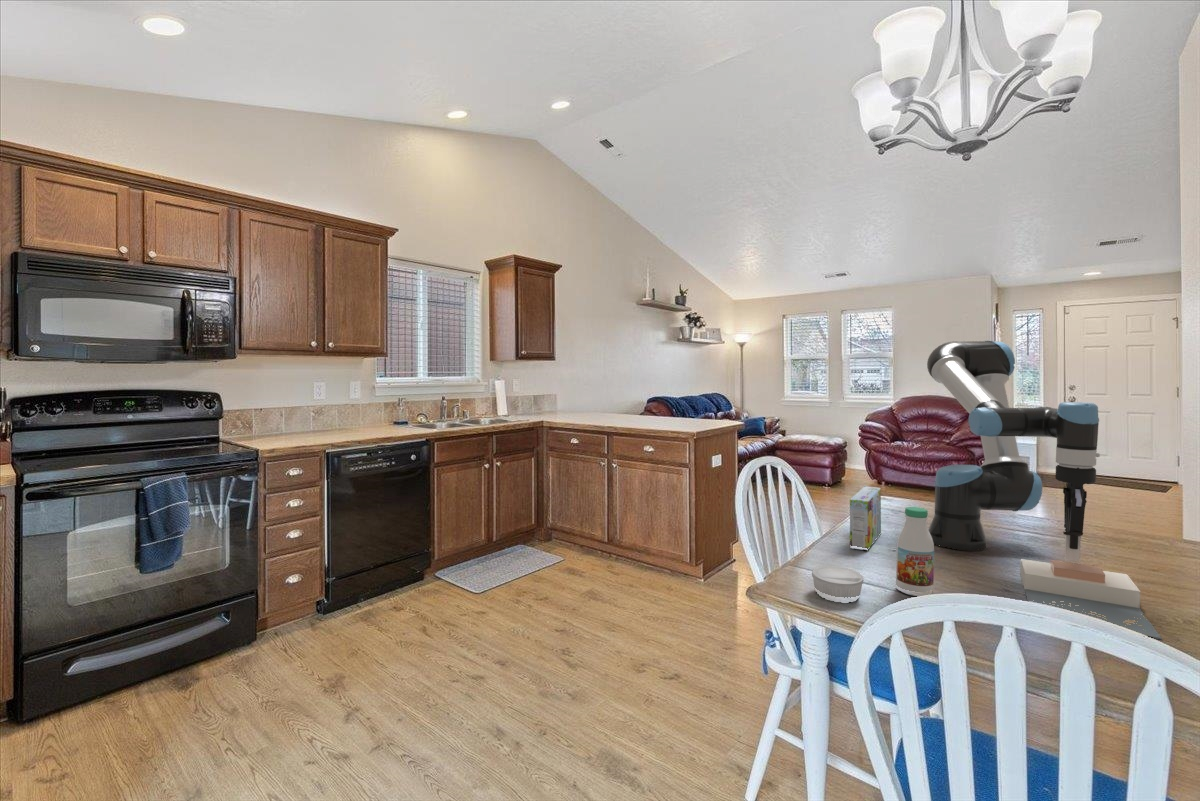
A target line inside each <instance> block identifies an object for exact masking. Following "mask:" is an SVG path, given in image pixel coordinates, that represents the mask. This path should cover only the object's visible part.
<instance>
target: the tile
mask: <svg viewBox="0 0 1200 801" xmlns="http://www.w3.org/2000/svg"><path fill="white" fill-rule="evenodd" d="M1050 563H1051V567H1050V568H1051V570H1052V572H1053V575H1054V576H1060V577H1067V578H1073V579H1080V580H1086V581H1093V582H1099V583H1105V574H1104V572H1103V571H1104V570H1103V569H1102V568H1101V566H1098V565H1096V566H1095V565H1090V564H1085V563H1079V562H1072V561H1065V560H1064V561H1063V560H1056V559H1055V560H1054V559H1050Z"/></svg>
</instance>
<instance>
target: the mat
mask: <svg viewBox="0 0 1200 801" xmlns="http://www.w3.org/2000/svg"><path fill="white" fill-rule="evenodd" d="M1025 592H1026V593H1025ZM1024 593H1025V597H1026V596H1027V597H1026V600H1027V602H1028V601H1033V600H1034V601H1033V602H1037V603H1042V604H1047V605H1052V604H1055V605H1052V606H1055V607H1059V608H1063V609H1067V610H1070V611H1074V612H1078V613H1082V614H1086V615H1089V616H1093V617H1096V618H1100V619H1102V620H1105V621H1107V622H1111V623H1113V624H1117V625H1119V626H1123V627H1126V628H1128V629H1131V630H1134V631H1136V632H1140V633H1142V634H1145V635H1147V636H1151V637H1153V638H1152V639H1155V640H1156V639H1157V640H1162V637H1161V635H1160V634H1159V633H1158V631H1157V630H1156V629H1155V627H1154V626H1153V624H1152V623H1151V621H1150V620H1149V619H1148V618H1147V617H1146V618H1147V620H1146V618H1144V617H1145V616H1146V615H1145V613H1144V612H1143V610H1142V609H1141V608H1136V607H1130V606H1124V605H1118V604H1112V603H1106V602H1100V601H1094V600H1088V599H1083V598H1077V597H1071V596H1065V595H1059V594H1053V593H1047V592H1041V591H1035V590H1029V589H1024ZM1043 601H1044V602H1045V603H1043ZM1052 601H1055V602H1056V603H1052ZM1060 601H1064V602H1060ZM1049 603H1051V604H1049ZM1069 603H1071V607H1070V606H1068V605H1070V604H1069ZM1061 604H1063V605H1061ZM1064 604H1065V605H1064ZM1057 605H1059V606H1057ZM1075 605H1079V606H1075ZM1062 606H1063V607H1062ZM1074 609H1075V610H1074ZM1083 609H1084V610H1083ZM1082 611H1083V612H1082ZM1090 611H1092V612H1096V613H1097V614H1095V613H1092V614H1095V615H1091V614H1088V613H1091V612H1090ZM1085 612H1086V613H1085ZM1098 614H1101V615H1098ZM1141 614H1142V615H1141ZM1143 614H1144V615H1145V616H1144V615H1143ZM1096 615H1098V616H1101V617H1097V616H1096ZM1102 615H1104V616H1106V617H1104V616H1102ZM1143 616H1144V617H1143ZM1102 617H1104V618H1106V619H1107V620H1106V619H1104V618H1102ZM1134 617H1135V618H1134ZM1137 618H1138V619H1137ZM1140 618H1141V619H1140ZM1128 619H1129V620H1135V621H1136V622H1134V623H1135V624H1133V623H1129V624H1131V625H1127V624H1126V623H1123V621H1125V620H1128ZM1137 621H1138V622H1137ZM1136 623H1137V624H1136ZM1125 625H1126V626H1125ZM1138 625H1142V626H1138ZM1143 629H1144V630H1143ZM1145 630H1146V631H1145Z"/></svg>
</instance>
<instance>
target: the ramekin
mask: <svg viewBox="0 0 1200 801" xmlns="http://www.w3.org/2000/svg"><path fill="white" fill-rule="evenodd" d="M811 577H812V579H813V580H812V582H813V586H814V587H815V588H816V589H817V590H819V591H820V592H822V593H825V594H828V595H831V596H835V597H844V598H845V597H847V598H848V597H850V598H851V597H856V596H859V595H860V596H861V594H862V593H861V592H862V588H863V584H864V580H865V579H864V576H863V575H862V574H861V573H860V572H858V571H856V570H854V569H851V568H848V567H845V566H844V567H843V566H838V565H837V566H836V565H820V566H817V567H815V568H813V569H812V571H811ZM814 587H813V588H814ZM815 588H814V589H815Z"/></svg>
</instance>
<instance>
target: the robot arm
mask: <svg viewBox="0 0 1200 801" xmlns="http://www.w3.org/2000/svg"><path fill="white" fill-rule="evenodd" d="M1015 364H1016V359H1015V355H1014V352H1013V350H1012V349H1011V347H1010V346H1009V345H1008V344H1007V343H1005V342H1002V341H996V340H994V341H993V340H983V341H982V340H979V341H977V340H976V341H974V340H973V341H948V342H944V343H942V344H940V345H938V346H937V347H936V348H934V349H933V350H932V352H931V353H930V354H929V356H928V359H927V363H926V365H927V366H926V367H927V372H928V373H929V375H930V376H931V378H932V379H933V380H934V381H936V382H937V384H942V385H943V386H944V387H945V388H946V389H947V391H949V393H950V395H952V396H953V397H954V398H955V399H956V400H957V401H958V403H959V404H960V405H961V406H962V407H963V408H964V410H965V411H967V413H968V414H969V415H968V426H969V430H970V431H971V433H972V434H974V435H976V436H980V440H981V445H982V451H983V455H984V456H983V457H984V462H983V463H982V464H981V465H980V466H979V465H975V464H951V465H945V466H942V467H940V468H938V469H937V470H936V472H935V480H934V515H933V518H932V519H931V522H930V525H929V527H928V530H929V533H930V535H931V537H932V540H933V543H934V545H935V544H937V545H936V546H938V545H940V546H939V547H941V546H944V547H943V548H945V547H948V548H947V549H950V548H952V549H951V550H956V549H957V551H958V550H959V551H967V552H968V551H970V552H973V551H975V552H976V551H978V552H979V551H983V550H985V549H987V546H988V540H987V537H986V533H985V530H984V527H983V525H982V521H981V511H982V510H983V511H984V510H985V511H1012V512H1019V511H1020V512H1021V511H1024V512H1026V511H1031V510H1033V509H1035V508H1036V507H1037V506H1038V504H1040V501H1041V498H1042V495H1043V483H1042V478H1041V477H1040V475H1038V473H1037V472H1035V471H1033V470H1029V465H1028V462H1026V461H1024V460H1023V459H1021V458H1020V452H1019V449H1018V444H1017V443H1018V442H1017V439H1016V437H1034V438H1035V437H1037V438H1038V437H1039V438H1040V437H1041V438H1044V437H1045V438H1047V437H1048V438H1053V439H1056V447H1055V463H1057V465H1055V479H1056V480H1057V481H1059V482H1063V483H1066V487H1063V489H1062V492H1063V505H1064V506H1063V508H1064V515H1063V516H1064V520H1063V521H1064V523H1063V528H1064V531H1063V532H1062V533H1063V535H1064V536H1065V537H1064V538H1065V539H1064V557H1063V558H1064V562H1072V563H1080V560H1081V540H1082V536H1083V535H1084V521H1085V513H1086V512H1085V510H1086V504H1087V496H1088V491H1087V490H1085V489H1084V485H1093V484H1095V483H1096V482H1097V469H1096V468H1095V466H1097V458H1100V457H1101V454H1100V452H1099V453H1098V452H1097V450H1098V439H1099V438H1098V436H1099V422H1100V418H1099V406H1098V405H1097V404H1096V403H1093V402H1083V401H1082V402H1079V401H1076V402H1075V401H1074V402H1073V401H1072V402H1071V401H1068V402H1067V401H1066V402H1065V401H1064V402H1060V403H1059V404H1058V406H1057V407H1058V408H1054V407H1050V406H1039V407H1037V406H1035V407H1010V405H1009V400H1008V395H1007V391H1006V386H1005V384H1006V383H1007V382H1008V381H1009V380H1010V376H1011V375H1012V374H1013V372H1014V371H1015Z"/></svg>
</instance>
